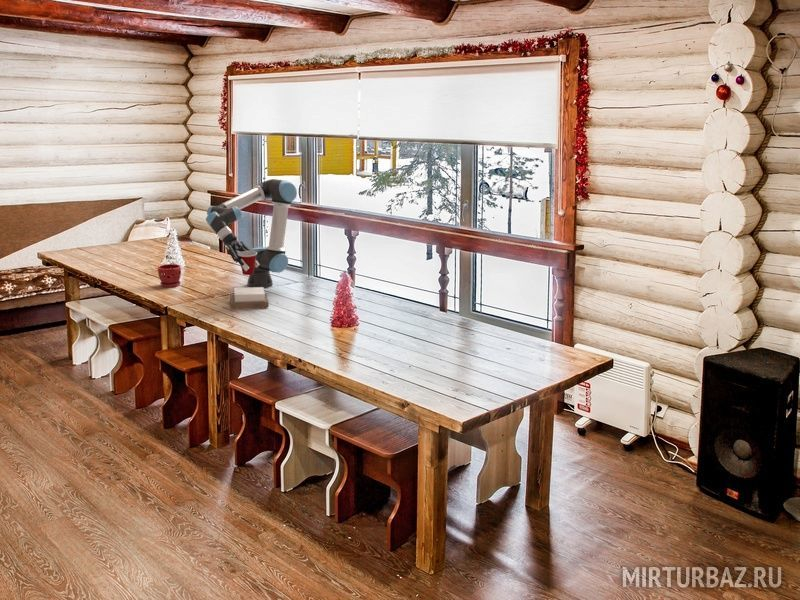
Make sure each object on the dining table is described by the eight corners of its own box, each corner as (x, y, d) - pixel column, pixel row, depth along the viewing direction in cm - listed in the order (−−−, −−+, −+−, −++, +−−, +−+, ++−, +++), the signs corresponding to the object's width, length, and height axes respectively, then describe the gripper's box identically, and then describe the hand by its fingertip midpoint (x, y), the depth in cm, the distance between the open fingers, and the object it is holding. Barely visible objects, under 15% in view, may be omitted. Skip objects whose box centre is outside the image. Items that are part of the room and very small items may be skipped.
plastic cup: (234, 275, 436) (233, 253, 433) (243, 271, 446) (243, 250, 443) (252, 277, 433) (251, 255, 430) (261, 272, 443) (260, 251, 440)
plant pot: (159, 283, 486) (158, 264, 483) (182, 283, 488) (181, 263, 485) (157, 288, 474) (156, 268, 471) (180, 288, 476) (179, 268, 473)
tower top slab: (234, 294, 449) (234, 287, 448) (263, 294, 453) (263, 287, 452) (234, 301, 434) (234, 294, 433) (264, 301, 438) (264, 294, 437)
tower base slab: (230, 301, 451) (230, 294, 450) (266, 300, 456) (266, 293, 455) (231, 310, 433) (230, 303, 432) (268, 309, 437) (268, 302, 436)
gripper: (234, 237, 451) (259, 268, 449) (211, 244, 432) (237, 276, 430) (242, 229, 448) (267, 260, 446) (219, 235, 428) (245, 267, 426)
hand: (252, 267), depth 438 cm, fingers closed on plastic cup, 9 cm apart
